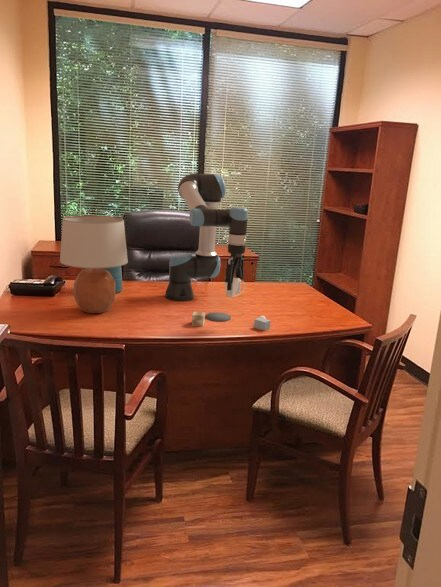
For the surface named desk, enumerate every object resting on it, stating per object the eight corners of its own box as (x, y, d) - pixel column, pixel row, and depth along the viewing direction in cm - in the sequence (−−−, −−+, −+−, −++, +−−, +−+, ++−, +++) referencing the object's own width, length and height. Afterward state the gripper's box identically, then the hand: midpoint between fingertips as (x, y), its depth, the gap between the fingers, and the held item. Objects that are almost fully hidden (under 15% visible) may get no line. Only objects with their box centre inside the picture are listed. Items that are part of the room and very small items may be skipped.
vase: (128, 291, 264) (129, 243, 257) (103, 296, 252) (103, 245, 245) (110, 285, 274) (110, 238, 267) (85, 290, 262) (84, 241, 255)
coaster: (201, 318, 225) (201, 317, 225) (212, 312, 236) (212, 310, 235) (224, 323, 220) (224, 321, 220) (235, 316, 231) (235, 315, 230)
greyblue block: (253, 327, 217) (254, 319, 216) (259, 325, 220) (259, 317, 219) (264, 331, 213) (265, 322, 212) (269, 329, 216) (270, 320, 215)
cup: (220, 294, 216) (222, 276, 214) (241, 295, 219) (243, 277, 217) (225, 297, 209) (227, 278, 208) (247, 297, 212) (248, 279, 211)
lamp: (86, 299, 246) (85, 213, 235) (138, 307, 236) (139, 219, 225) (47, 314, 218) (43, 218, 207) (105, 325, 209) (104, 225, 198)
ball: (256, 324, 221) (256, 316, 220) (259, 322, 224) (260, 314, 223) (264, 326, 219) (265, 317, 218) (267, 323, 223) (268, 315, 222)
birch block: (191, 325, 215) (192, 314, 214) (193, 322, 220) (194, 311, 218) (202, 326, 214) (203, 315, 213) (204, 323, 219) (205, 312, 218)
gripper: (235, 248, 197) (231, 301, 204) (253, 242, 215) (250, 291, 221) (218, 245, 200) (215, 298, 207) (238, 239, 218) (235, 288, 224)
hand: (233, 294), depth 214 cm, fingers closed on cup, 7 cm apart
